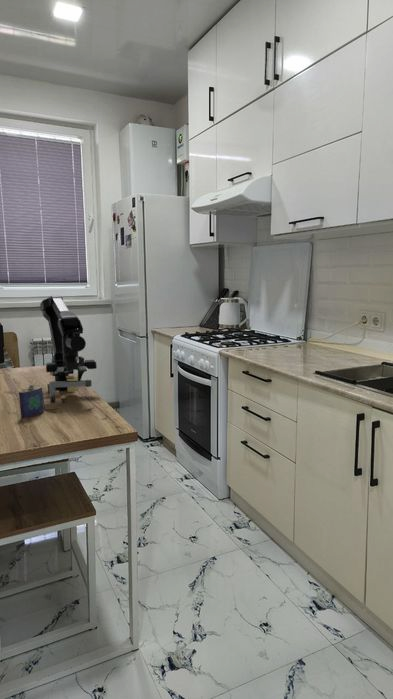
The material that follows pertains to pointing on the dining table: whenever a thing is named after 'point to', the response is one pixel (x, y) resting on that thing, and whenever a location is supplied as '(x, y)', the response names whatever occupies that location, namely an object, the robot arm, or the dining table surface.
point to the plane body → (48, 403)
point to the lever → (66, 384)
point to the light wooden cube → (72, 378)
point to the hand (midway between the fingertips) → (72, 387)
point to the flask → (31, 402)
